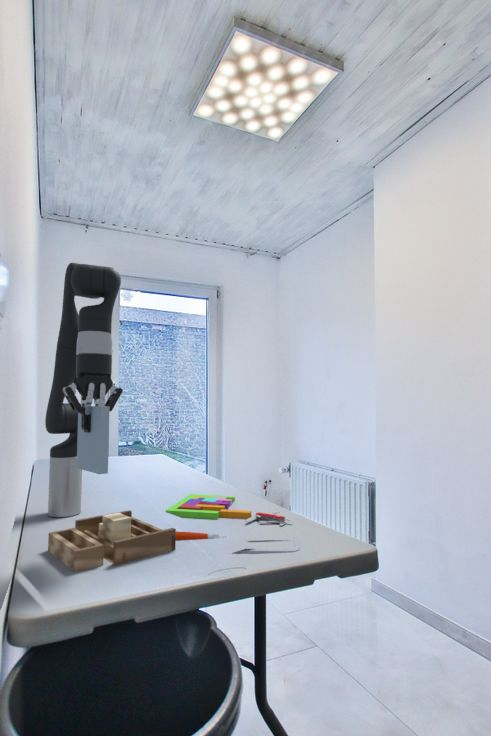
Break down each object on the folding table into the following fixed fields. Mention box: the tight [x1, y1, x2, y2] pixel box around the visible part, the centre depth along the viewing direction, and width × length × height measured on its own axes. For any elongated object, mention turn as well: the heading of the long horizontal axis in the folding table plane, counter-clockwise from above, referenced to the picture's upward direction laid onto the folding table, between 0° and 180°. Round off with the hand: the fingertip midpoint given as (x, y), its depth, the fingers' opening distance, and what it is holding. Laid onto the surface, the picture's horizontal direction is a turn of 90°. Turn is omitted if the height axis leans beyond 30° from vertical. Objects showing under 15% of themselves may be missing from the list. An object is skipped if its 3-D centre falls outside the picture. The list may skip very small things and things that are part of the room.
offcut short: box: [102, 512, 131, 531], centre depth 97 cm, size 6×4×2 cm, turn 42°
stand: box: [47, 527, 104, 573], centre depth 90 cm, size 16×7×5 cm, turn 42°
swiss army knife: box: [244, 511, 293, 526], centre depth 121 cm, size 12×14×2 cm
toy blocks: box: [165, 493, 252, 520], centre depth 136 cm, size 23×2×25 cm
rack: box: [74, 509, 177, 566], centre depth 99 cm, size 22×14×6 cm, turn 42°
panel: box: [77, 405, 110, 475], centre depth 94 cm, size 12×2×14 cm, turn 43°
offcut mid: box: [99, 523, 131, 542], centre depth 98 cm, size 8×4×2 cm, turn 42°
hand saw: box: [176, 531, 301, 554], centre depth 101 cm, size 33×3×10 cm
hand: (92, 431), depth 94 cm, fingers closed on panel, 2 cm apart
